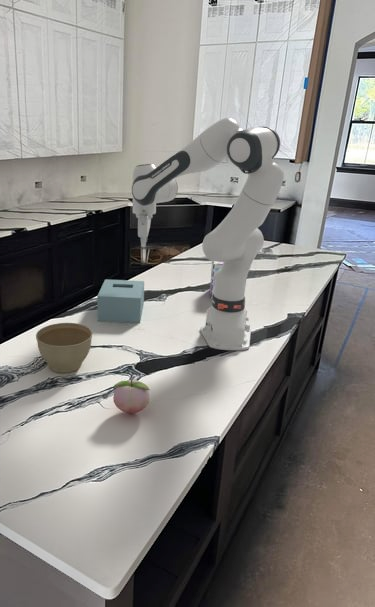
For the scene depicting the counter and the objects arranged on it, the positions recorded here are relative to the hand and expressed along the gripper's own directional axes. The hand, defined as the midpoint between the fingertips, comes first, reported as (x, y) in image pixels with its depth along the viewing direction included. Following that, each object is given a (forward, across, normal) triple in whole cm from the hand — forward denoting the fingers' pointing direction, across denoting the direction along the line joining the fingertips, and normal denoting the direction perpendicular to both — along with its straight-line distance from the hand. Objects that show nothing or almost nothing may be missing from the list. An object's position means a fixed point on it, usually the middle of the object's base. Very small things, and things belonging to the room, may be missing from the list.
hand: (144, 244), depth 177 cm
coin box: (+27, -5, +8) cm, 28 cm away
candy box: (+27, +21, -32) cm, 47 cm away
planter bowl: (+27, -50, +21) cm, 61 cm away
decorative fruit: (+28, -73, -1) cm, 78 cm away
